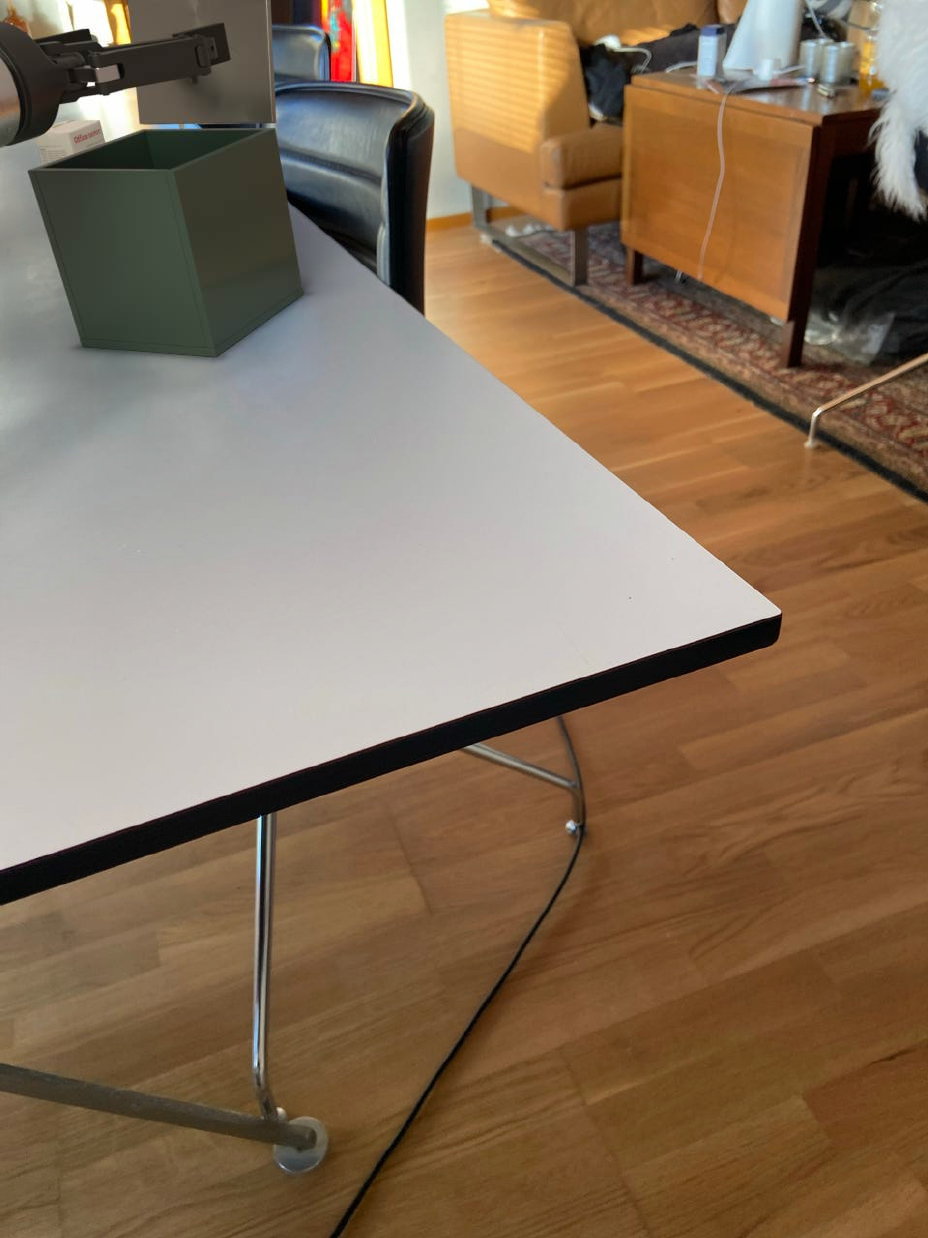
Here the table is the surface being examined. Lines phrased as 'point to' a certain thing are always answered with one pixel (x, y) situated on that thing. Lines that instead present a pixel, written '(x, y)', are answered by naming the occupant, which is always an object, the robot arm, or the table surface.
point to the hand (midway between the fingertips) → (155, 43)
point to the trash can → (171, 238)
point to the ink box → (69, 139)
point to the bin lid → (233, 87)
